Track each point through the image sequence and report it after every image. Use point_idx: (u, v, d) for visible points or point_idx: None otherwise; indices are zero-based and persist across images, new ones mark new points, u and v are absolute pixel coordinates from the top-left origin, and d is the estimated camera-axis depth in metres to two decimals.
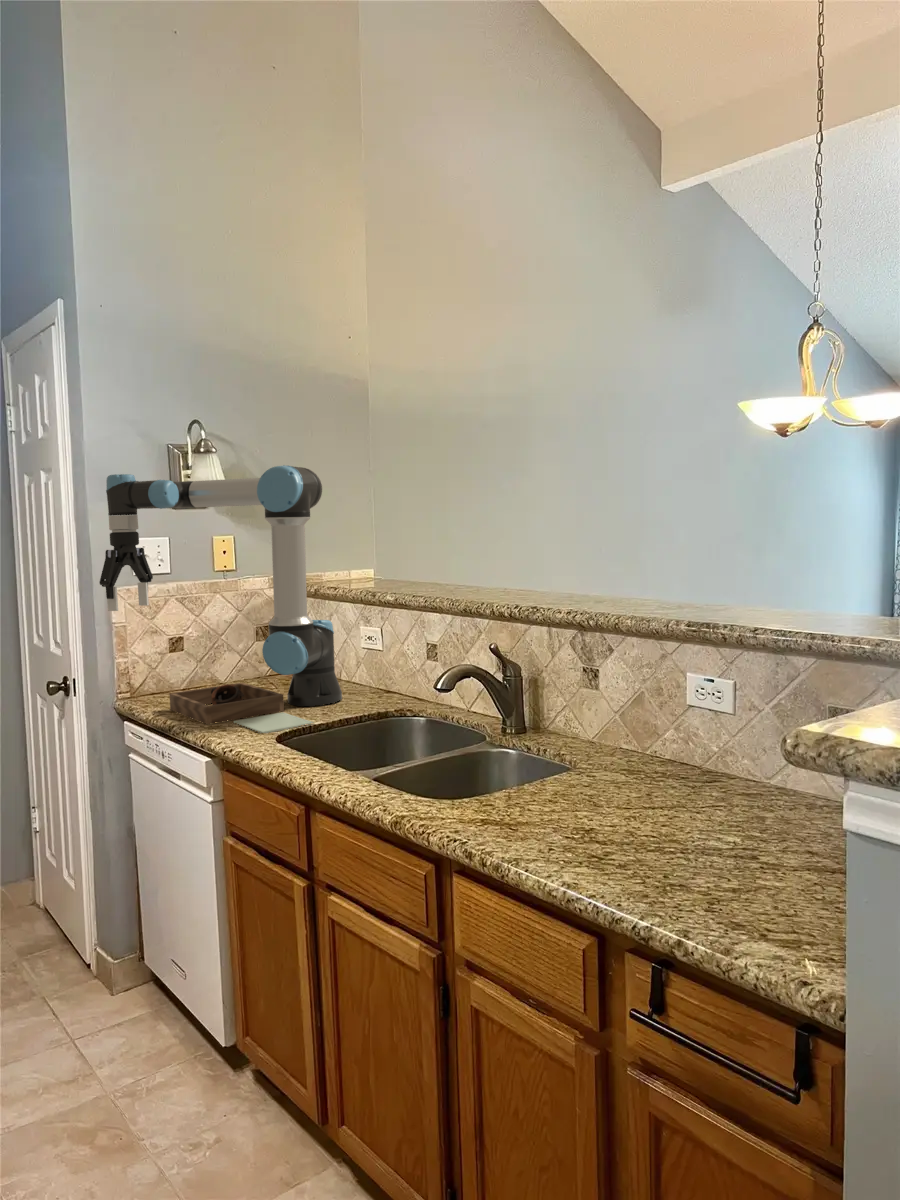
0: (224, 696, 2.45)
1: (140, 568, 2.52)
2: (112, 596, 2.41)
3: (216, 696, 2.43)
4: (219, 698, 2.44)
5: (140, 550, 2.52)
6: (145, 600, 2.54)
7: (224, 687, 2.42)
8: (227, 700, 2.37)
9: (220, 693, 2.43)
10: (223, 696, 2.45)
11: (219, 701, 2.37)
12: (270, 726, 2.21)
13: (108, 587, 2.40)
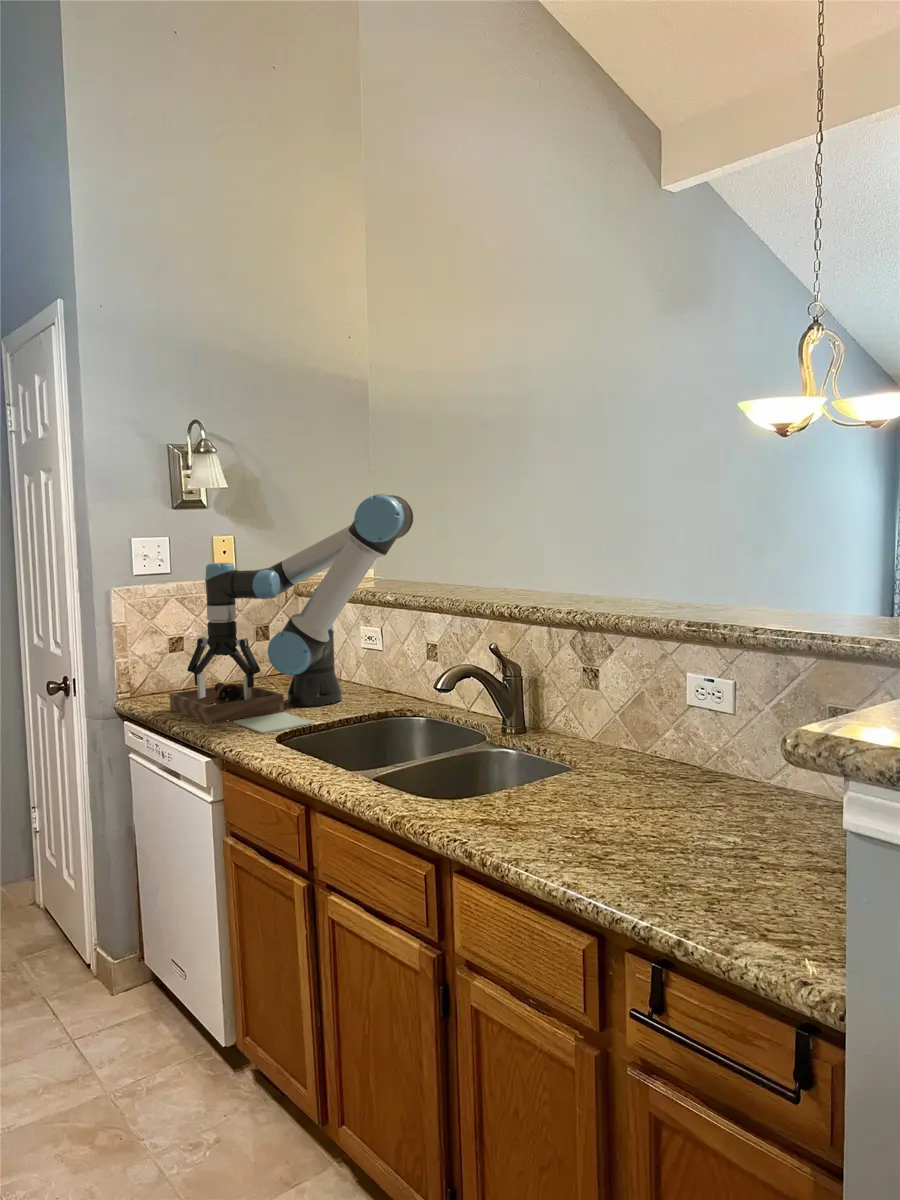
0: (227, 693, 2.45)
1: (237, 660, 2.39)
2: (197, 683, 2.43)
3: (220, 693, 2.43)
4: (222, 694, 2.44)
5: None
6: None
7: (229, 686, 2.41)
8: None
9: (224, 690, 2.43)
10: (227, 692, 2.45)
11: (223, 702, 2.37)
12: (270, 726, 2.21)
13: None
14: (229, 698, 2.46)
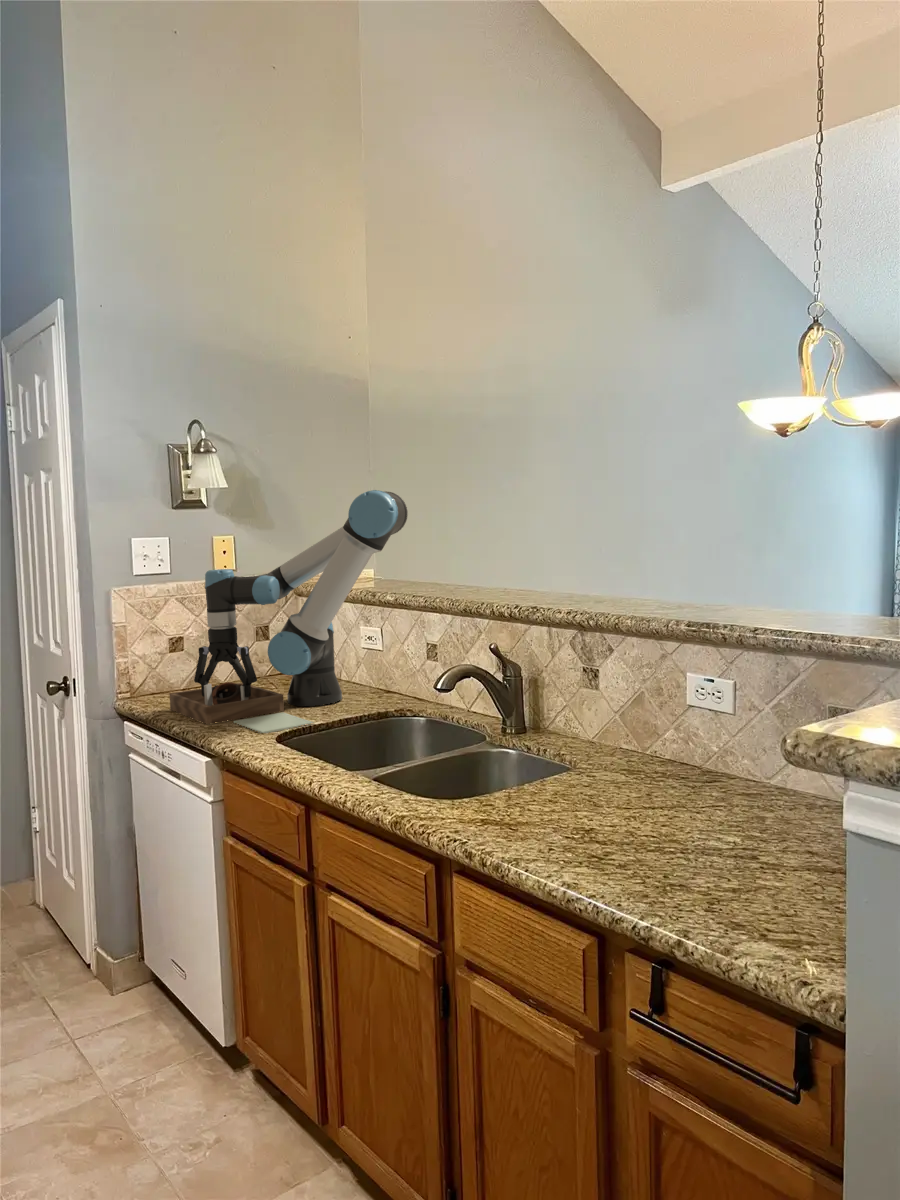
0: (225, 694, 2.46)
1: (235, 668, 2.39)
2: (204, 694, 2.43)
3: (217, 694, 2.44)
4: (220, 696, 2.45)
5: None
6: None
7: (225, 685, 2.43)
8: (227, 698, 2.38)
9: (221, 691, 2.45)
10: (224, 694, 2.46)
11: (219, 699, 2.38)
12: (270, 726, 2.21)
13: None
14: None
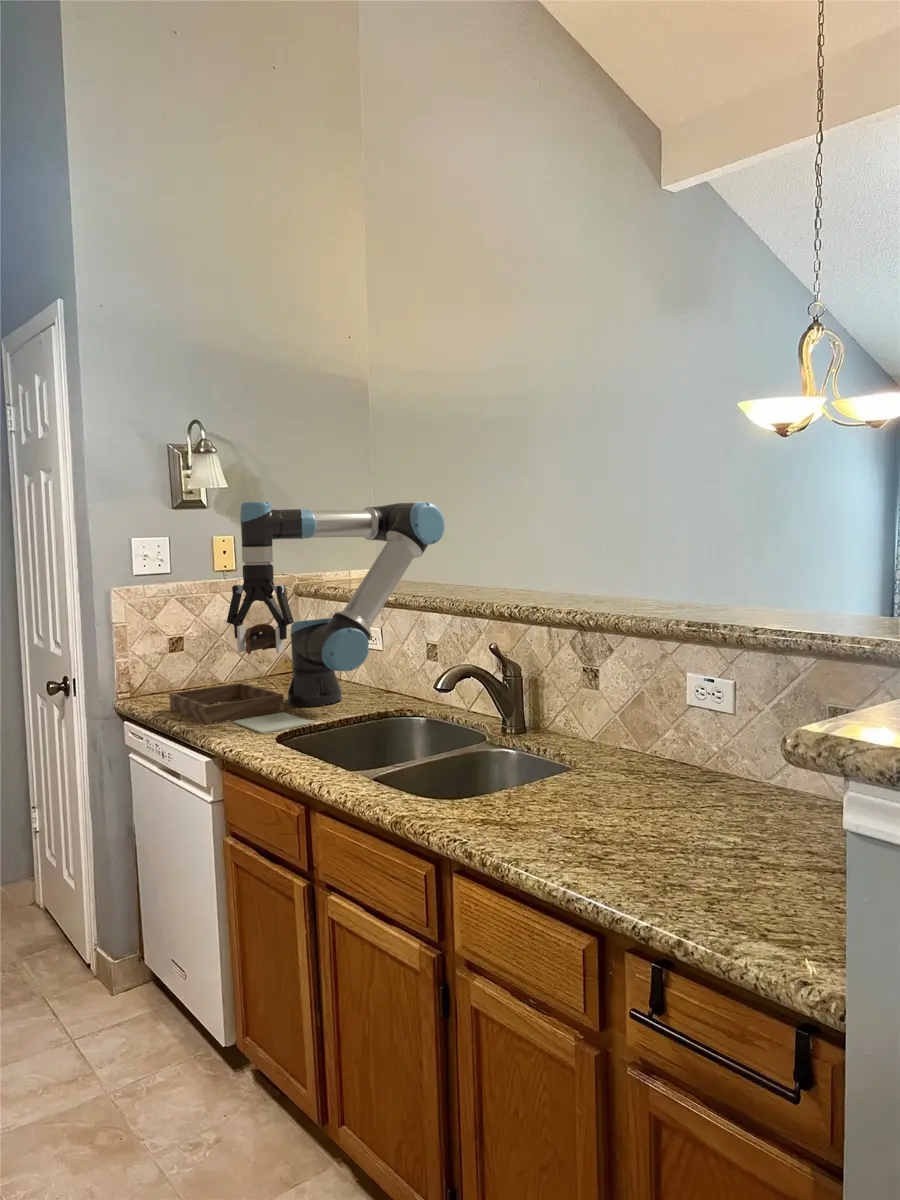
0: (259, 637, 2.30)
1: (271, 608, 2.23)
2: (237, 636, 2.27)
3: (251, 636, 2.28)
4: (254, 639, 2.29)
5: None
6: None
7: (259, 627, 2.27)
8: (261, 639, 2.21)
9: (255, 633, 2.29)
10: (259, 637, 2.30)
11: (253, 640, 2.21)
12: (270, 726, 2.21)
13: None
14: None
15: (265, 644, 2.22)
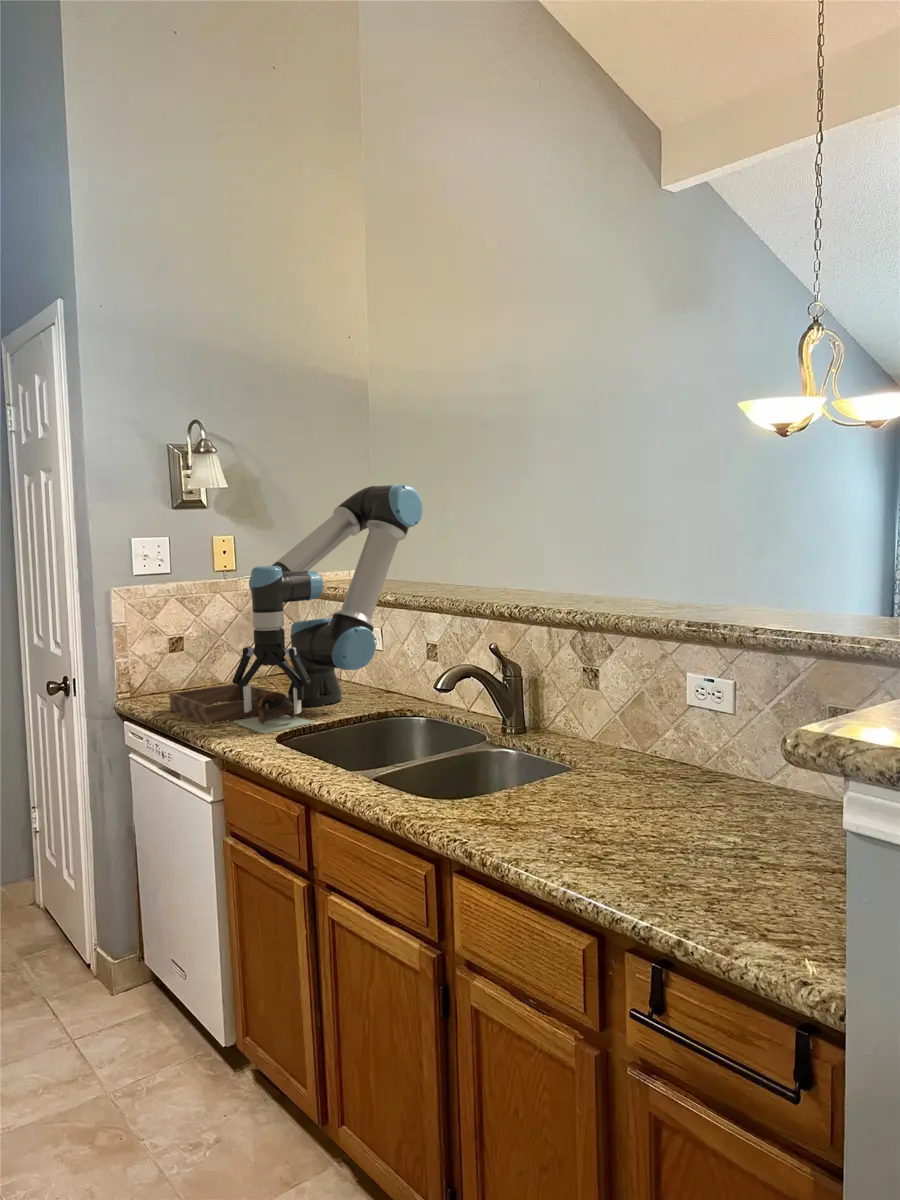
0: (271, 704, 2.29)
1: (286, 671, 2.22)
2: (243, 696, 2.26)
3: (263, 704, 2.27)
4: (266, 706, 2.28)
5: None
6: None
7: (271, 695, 2.26)
8: (275, 709, 2.21)
9: (267, 701, 2.28)
10: (270, 704, 2.29)
11: (266, 710, 2.21)
12: (270, 726, 2.21)
13: None
14: None
15: (279, 714, 2.21)
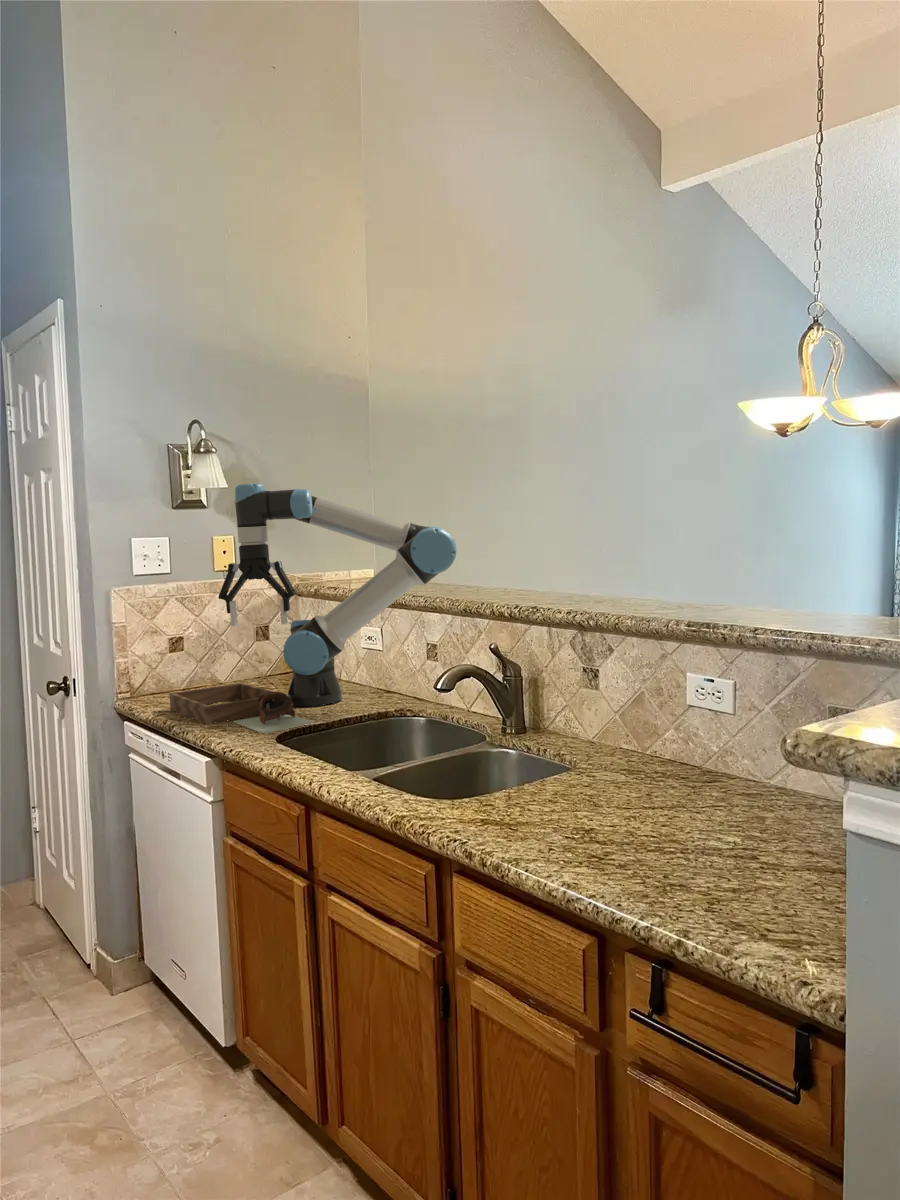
0: (272, 704, 2.29)
1: (272, 583, 2.33)
2: (229, 611, 2.36)
3: (264, 704, 2.28)
4: (267, 706, 2.29)
5: None
6: None
7: (272, 695, 2.26)
8: (276, 709, 2.21)
9: (268, 701, 2.28)
10: (271, 704, 2.29)
11: (267, 710, 2.21)
12: (270, 726, 2.21)
13: None
14: None
15: (280, 714, 2.22)
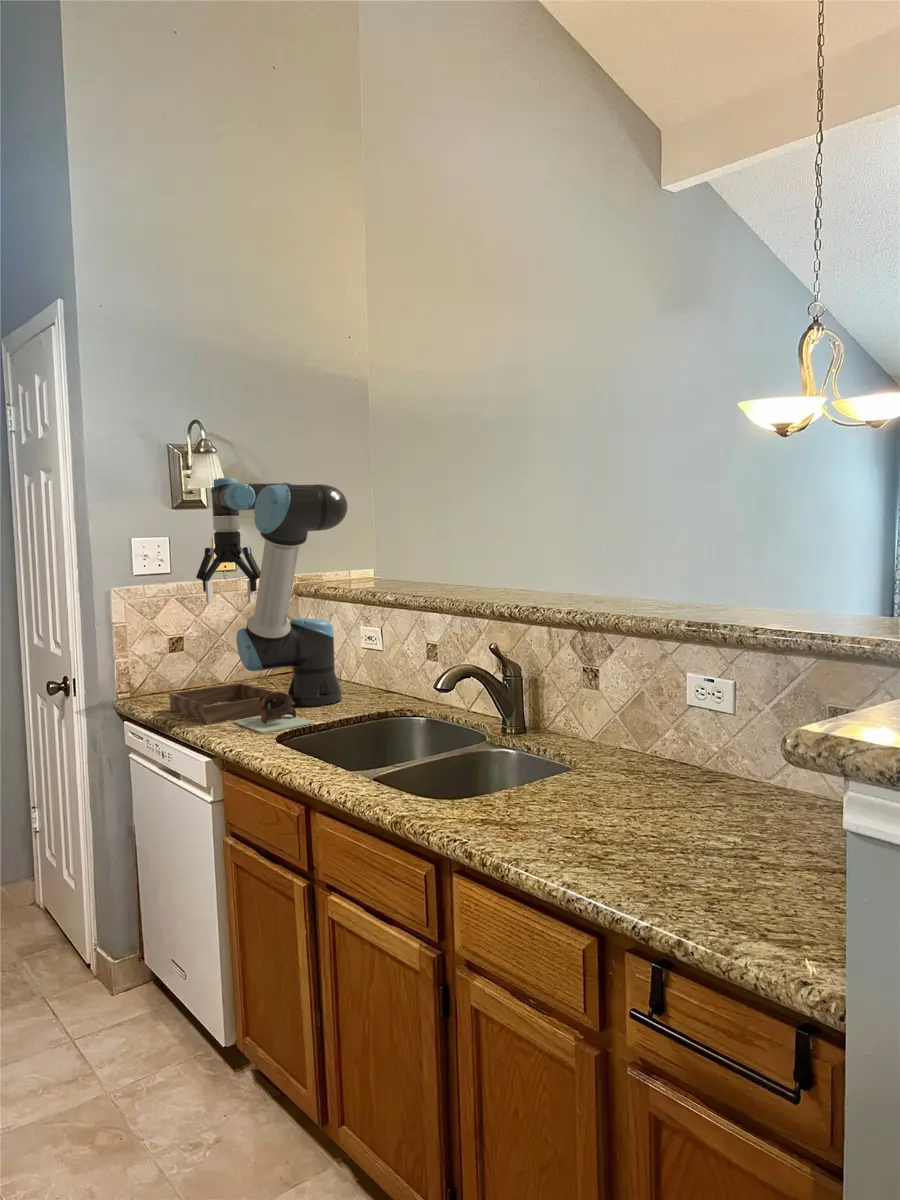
0: (273, 704, 2.30)
1: (241, 566, 2.63)
2: (205, 589, 2.67)
3: (265, 704, 2.28)
4: (268, 706, 2.29)
5: None
6: None
7: (273, 695, 2.26)
8: (277, 709, 2.21)
9: (269, 701, 2.28)
10: (272, 704, 2.29)
11: (269, 710, 2.21)
12: (270, 726, 2.21)
13: None
14: None
15: (281, 713, 2.22)
